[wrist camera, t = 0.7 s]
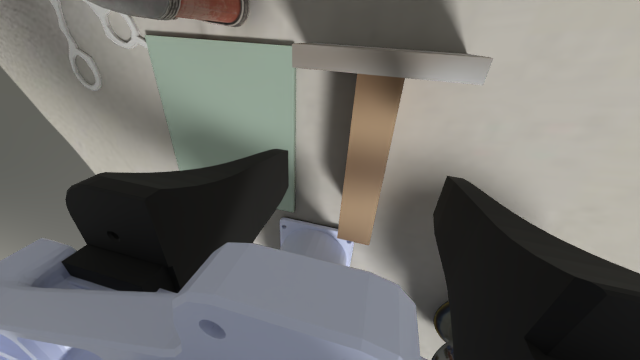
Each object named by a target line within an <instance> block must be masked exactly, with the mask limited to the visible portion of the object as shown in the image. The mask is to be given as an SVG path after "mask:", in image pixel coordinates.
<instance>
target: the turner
mask: <svg viewBox="0 0 640 360" xmlns="http://www.w3.org/2000/svg"><path fill="white" fill-rule="evenodd" d="M492 60H493V58H489V57H483V56H477V55H471V54H464V53H450V52H436V51H422V50H408V49H394V48H380V47H366V46H352V45H338V44H324V43H292V67H293V68H304V69H314V70H325V71H336V72H347V73H357V80H356V88H355V97H354V105H353V113H352V121H351V129H350V137H349V145H348V153H347V162H346V170H345V178H344V186H343V194H342V202H341V210H340V218H339V227H338V235H337V238H338V239H343V240H347V241H351V242H356V243H360V244H365V245H369V243H370V238H371V234H372V229H373V224H374V220H375V215H376V210H377V206H378V201H379V196H380V192H381V187H382V182H383V178H384V173H385V168H386V164H387V159H388V154H389V150H390V145H391V140H392V136H393V131H394V126H395V122H396V117H397V112H398V108H399V103H400V98H401V94H402V89H403V84H404V80H405V78H411V79H422V80H432V81H443V82H454V83H465V84H475V85H484V82H485V79H486V76H487V74H488V71H489V68H490V65H491V63H492Z"/></svg>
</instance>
